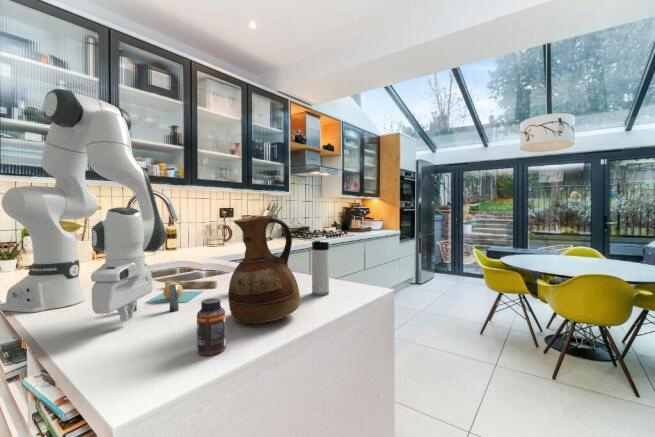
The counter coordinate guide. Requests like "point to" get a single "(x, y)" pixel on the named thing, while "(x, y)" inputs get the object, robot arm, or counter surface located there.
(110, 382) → the counter surface
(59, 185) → the robot arm
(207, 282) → the stopper wall
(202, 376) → the counter surface
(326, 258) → the travel mug
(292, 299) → the ceramic pitcher
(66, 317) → the counter surface
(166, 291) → the ball
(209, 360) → the counter surface
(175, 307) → the right post
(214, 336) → the supplement bottle
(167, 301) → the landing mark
